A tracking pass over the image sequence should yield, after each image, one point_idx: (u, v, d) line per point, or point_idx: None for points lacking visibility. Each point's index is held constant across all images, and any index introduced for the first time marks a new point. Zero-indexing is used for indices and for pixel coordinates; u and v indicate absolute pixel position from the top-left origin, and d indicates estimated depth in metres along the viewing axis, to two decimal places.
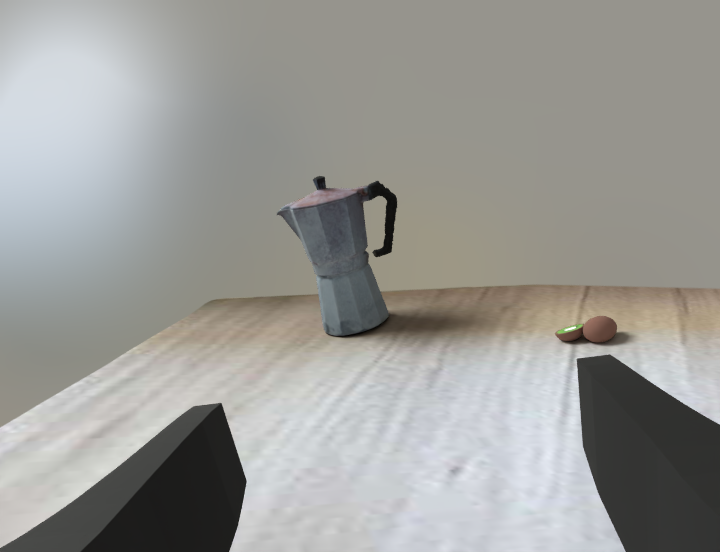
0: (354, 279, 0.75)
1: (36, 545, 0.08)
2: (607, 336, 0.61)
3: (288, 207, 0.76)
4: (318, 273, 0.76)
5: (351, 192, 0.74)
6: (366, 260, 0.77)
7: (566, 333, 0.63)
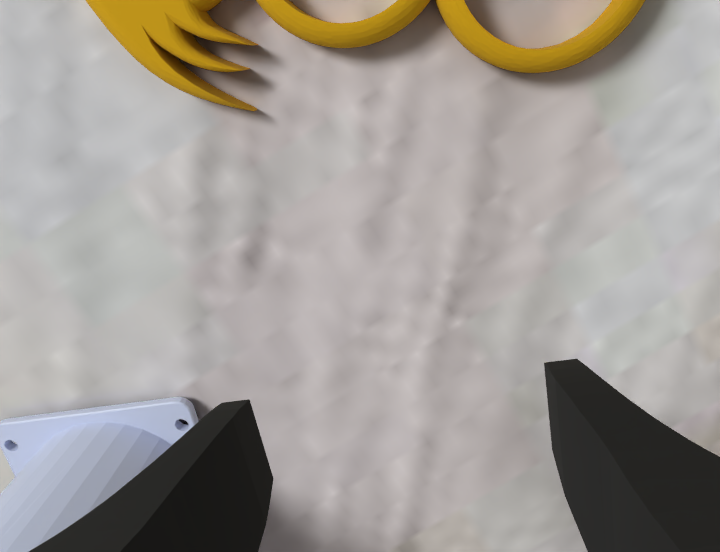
0: None
1: (77, 540, 0.08)
2: None
3: None
4: None
5: None
6: None
7: None
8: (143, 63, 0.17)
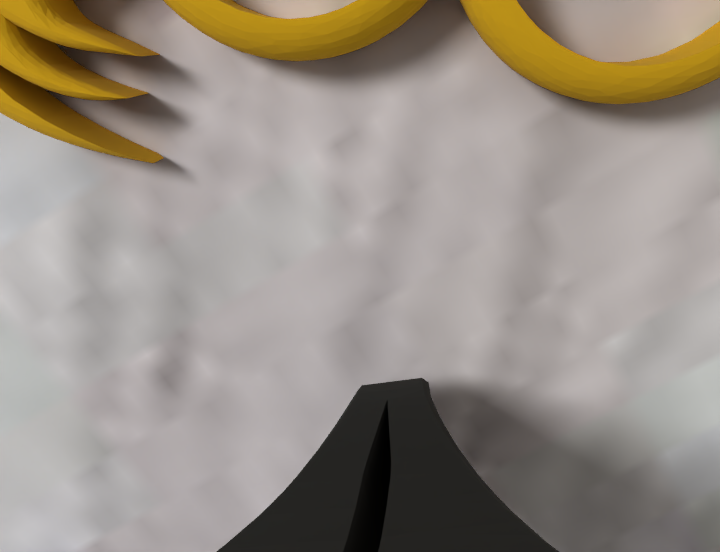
0: None
1: (289, 520, 0.08)
2: None
3: None
4: None
5: None
6: None
7: None
8: None
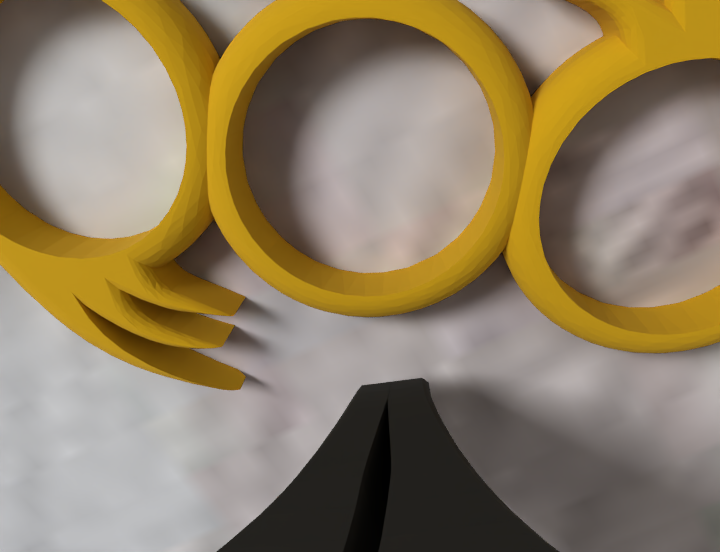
0: None
1: (288, 521, 0.08)
2: None
3: None
4: None
5: None
6: None
7: None
8: (79, 335, 0.12)
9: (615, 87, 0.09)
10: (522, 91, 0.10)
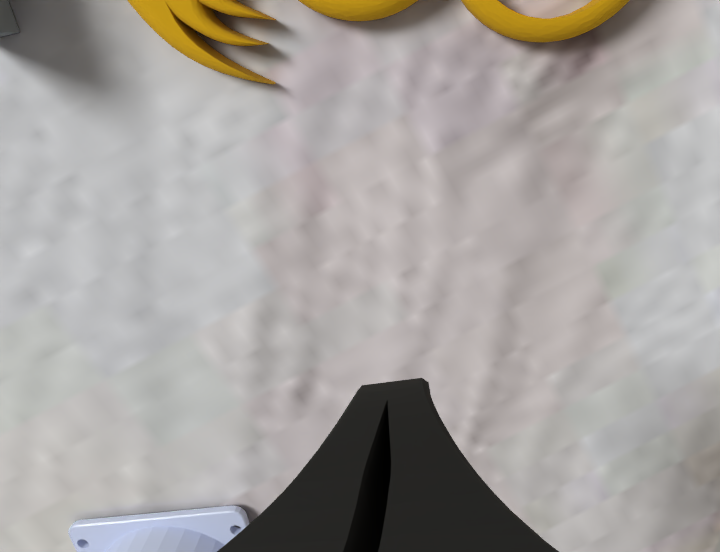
0: None
1: (288, 520, 0.08)
2: None
3: None
4: None
5: None
6: None
7: None
8: (166, 39, 0.18)
9: None
10: None
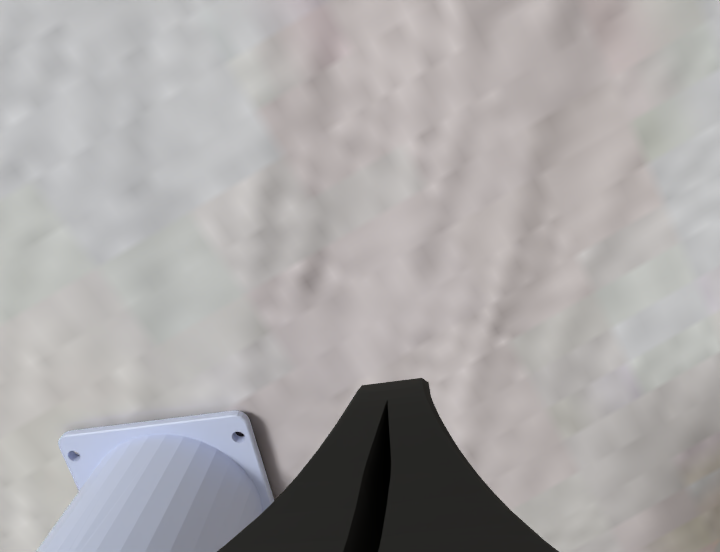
0: None
1: (289, 521, 0.08)
2: None
3: None
4: None
5: None
6: None
7: None
8: None
9: None
10: None
